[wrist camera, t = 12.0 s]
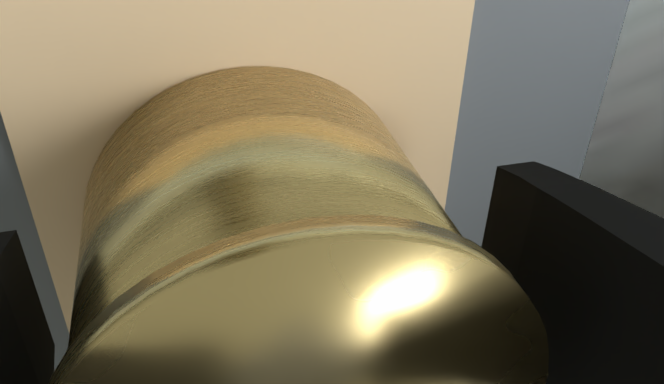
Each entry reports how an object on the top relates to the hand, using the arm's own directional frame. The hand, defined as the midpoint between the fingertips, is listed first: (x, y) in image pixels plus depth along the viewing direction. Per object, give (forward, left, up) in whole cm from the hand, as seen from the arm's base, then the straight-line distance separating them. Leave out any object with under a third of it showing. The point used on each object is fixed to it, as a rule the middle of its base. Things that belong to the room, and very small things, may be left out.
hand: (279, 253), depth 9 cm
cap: (0, +1, -2) cm, 2 cm away
